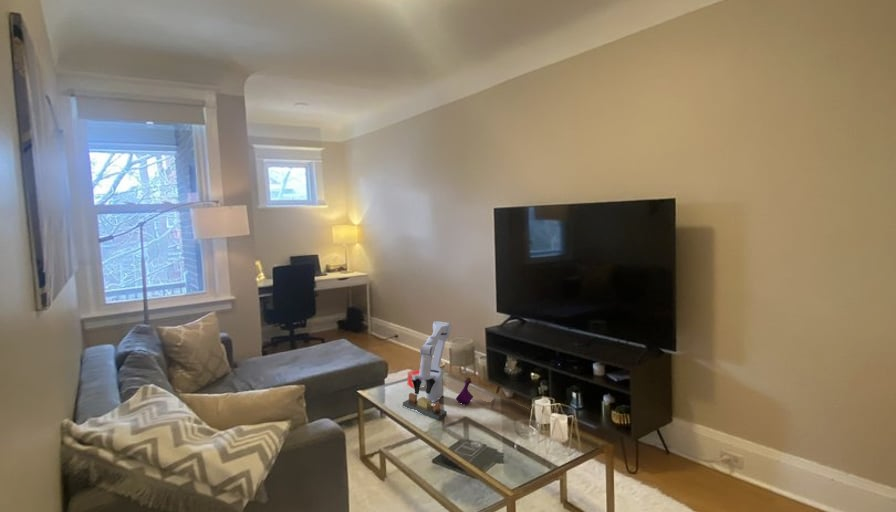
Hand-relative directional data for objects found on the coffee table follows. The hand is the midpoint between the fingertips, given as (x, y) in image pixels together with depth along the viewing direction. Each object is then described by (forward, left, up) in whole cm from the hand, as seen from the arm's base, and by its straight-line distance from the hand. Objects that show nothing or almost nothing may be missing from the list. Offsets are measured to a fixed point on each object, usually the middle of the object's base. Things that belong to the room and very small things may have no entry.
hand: (422, 393), depth 247 cm
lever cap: (-2, 0, -8) cm, 8 cm away
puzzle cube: (-25, -24, -11) cm, 36 cm away
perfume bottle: (-24, +11, -10) cm, 28 cm away
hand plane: (-2, 0, -10) cm, 10 cm away
